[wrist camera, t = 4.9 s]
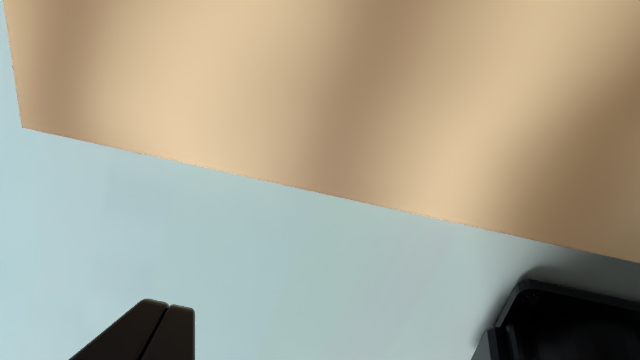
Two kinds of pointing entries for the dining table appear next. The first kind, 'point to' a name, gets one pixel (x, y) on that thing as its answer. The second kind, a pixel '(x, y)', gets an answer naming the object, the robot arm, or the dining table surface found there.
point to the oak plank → (363, 101)
